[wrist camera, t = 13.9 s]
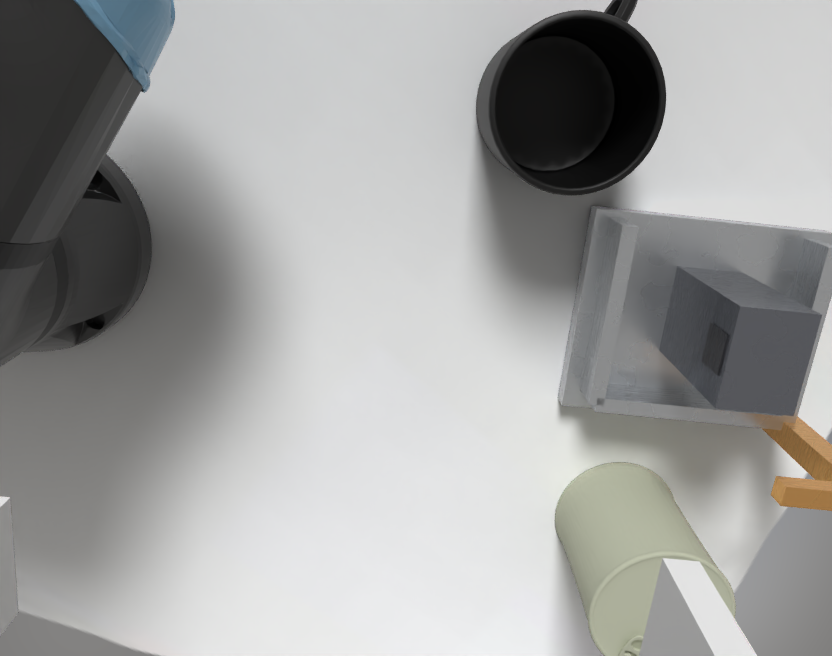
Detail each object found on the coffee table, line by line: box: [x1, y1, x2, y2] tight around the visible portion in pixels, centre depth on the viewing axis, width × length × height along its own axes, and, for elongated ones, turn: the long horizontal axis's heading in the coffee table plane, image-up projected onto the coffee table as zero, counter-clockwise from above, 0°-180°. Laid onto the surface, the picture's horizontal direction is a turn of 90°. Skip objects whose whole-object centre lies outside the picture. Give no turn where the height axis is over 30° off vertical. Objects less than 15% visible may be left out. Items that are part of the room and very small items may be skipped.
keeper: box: [558, 206, 832, 511], centre depth 45 cm, size 16×14×14 cm
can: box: [555, 462, 736, 656], centre depth 50 cm, size 9×9×12 cm
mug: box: [476, 0, 666, 195], centre depth 42 cm, size 9×12×9 cm
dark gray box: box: [659, 266, 822, 416], centre depth 45 cm, size 5×6×10 cm
